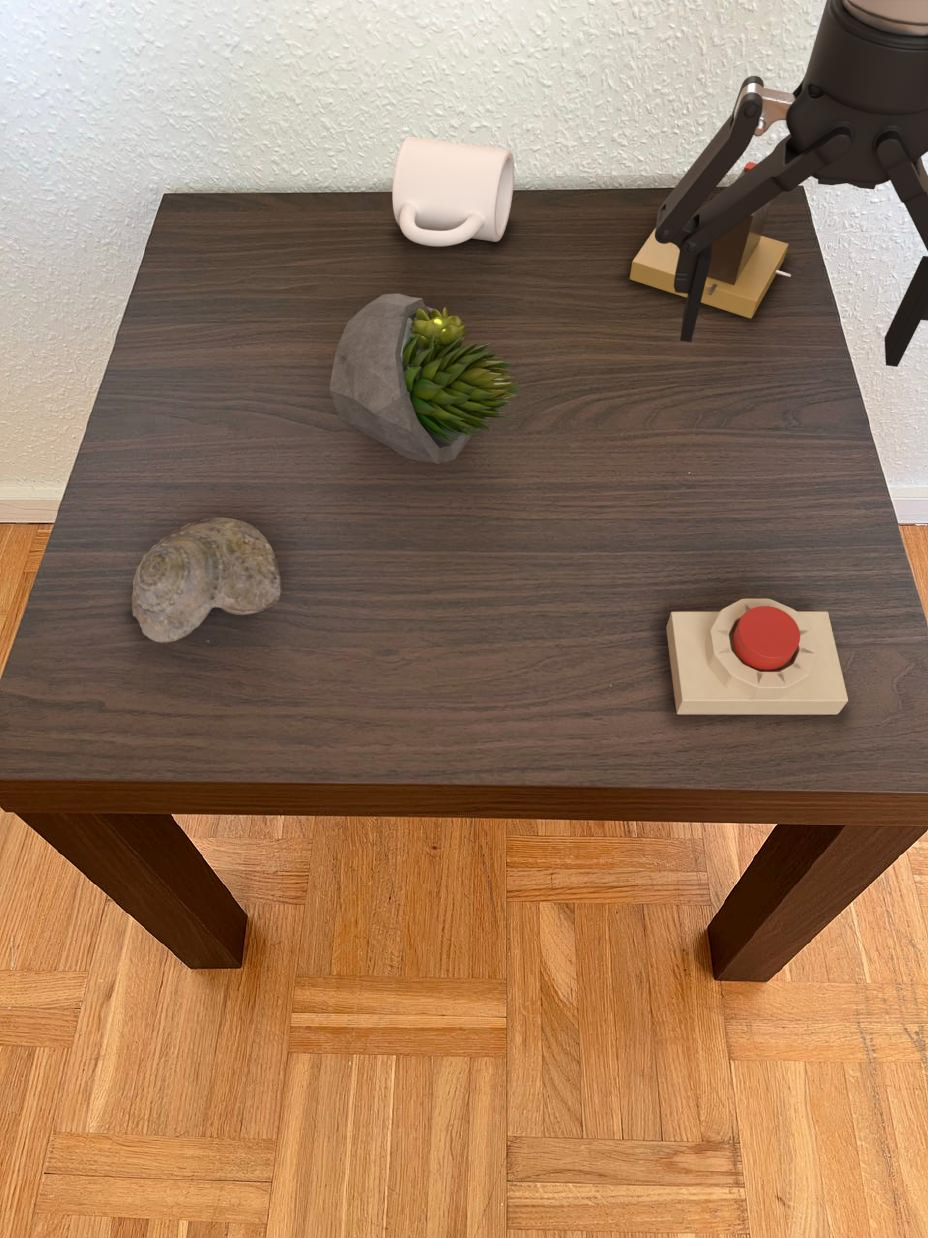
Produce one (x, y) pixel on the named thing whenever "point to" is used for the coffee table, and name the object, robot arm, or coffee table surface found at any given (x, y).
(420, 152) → the mug
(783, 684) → the beige button housing
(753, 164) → the lock turn
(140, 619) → the fossilized seashell
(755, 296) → the plate
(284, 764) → the coffee table surface
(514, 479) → the coffee table surface
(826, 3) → the robot arm
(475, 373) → the potted plant
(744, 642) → the bell button
